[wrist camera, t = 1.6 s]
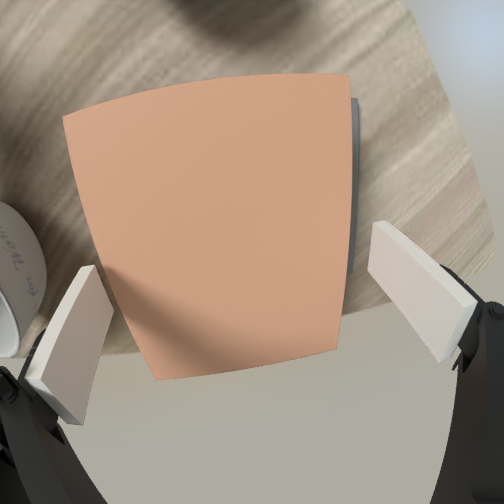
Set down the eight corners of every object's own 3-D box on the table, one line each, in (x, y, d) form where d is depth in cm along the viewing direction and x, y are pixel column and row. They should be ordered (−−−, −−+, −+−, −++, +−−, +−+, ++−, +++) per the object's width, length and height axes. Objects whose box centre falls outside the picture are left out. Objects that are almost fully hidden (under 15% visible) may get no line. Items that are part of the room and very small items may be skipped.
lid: (158, 352, 19) (156, 380, 17) (84, 113, 11) (62, 116, 9) (323, 324, 20) (336, 348, 18) (326, 78, 12) (349, 75, 10)
